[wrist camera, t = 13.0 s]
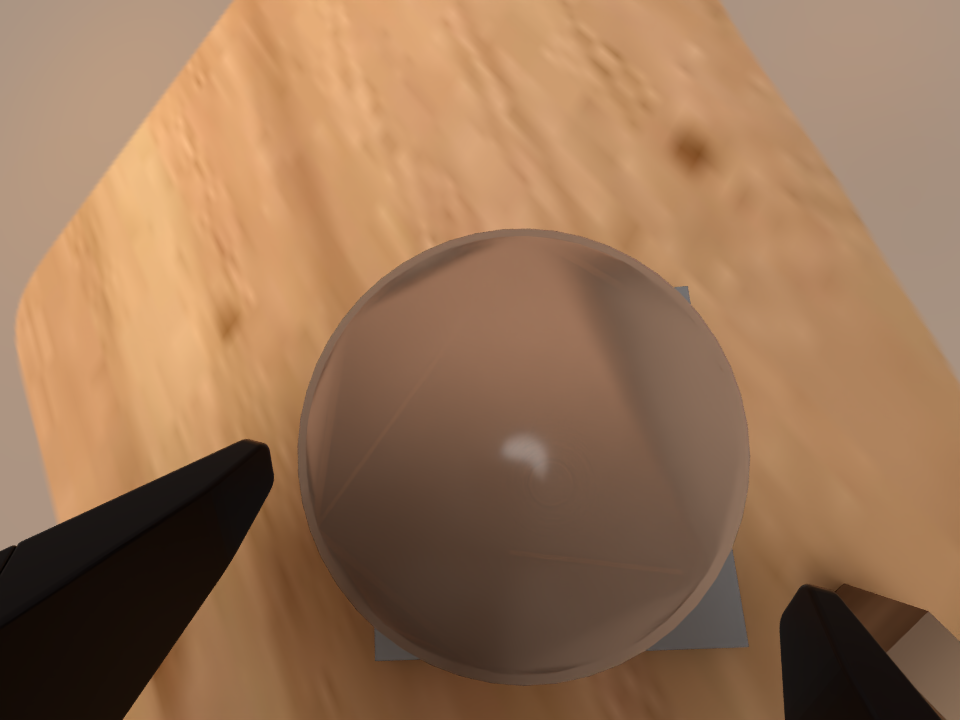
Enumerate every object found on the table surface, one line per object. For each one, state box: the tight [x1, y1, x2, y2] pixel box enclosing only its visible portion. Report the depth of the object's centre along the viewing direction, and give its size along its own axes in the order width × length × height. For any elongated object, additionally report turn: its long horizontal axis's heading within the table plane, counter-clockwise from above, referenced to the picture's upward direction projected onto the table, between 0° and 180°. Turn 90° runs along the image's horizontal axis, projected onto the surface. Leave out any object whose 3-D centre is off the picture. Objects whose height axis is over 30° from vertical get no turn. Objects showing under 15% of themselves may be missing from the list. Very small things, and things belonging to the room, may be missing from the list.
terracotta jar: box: [298, 229, 750, 686], centre depth 13 cm, size 5×5×13 cm
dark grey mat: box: [375, 286, 749, 661], centre depth 19 cm, size 12×12×1 cm
